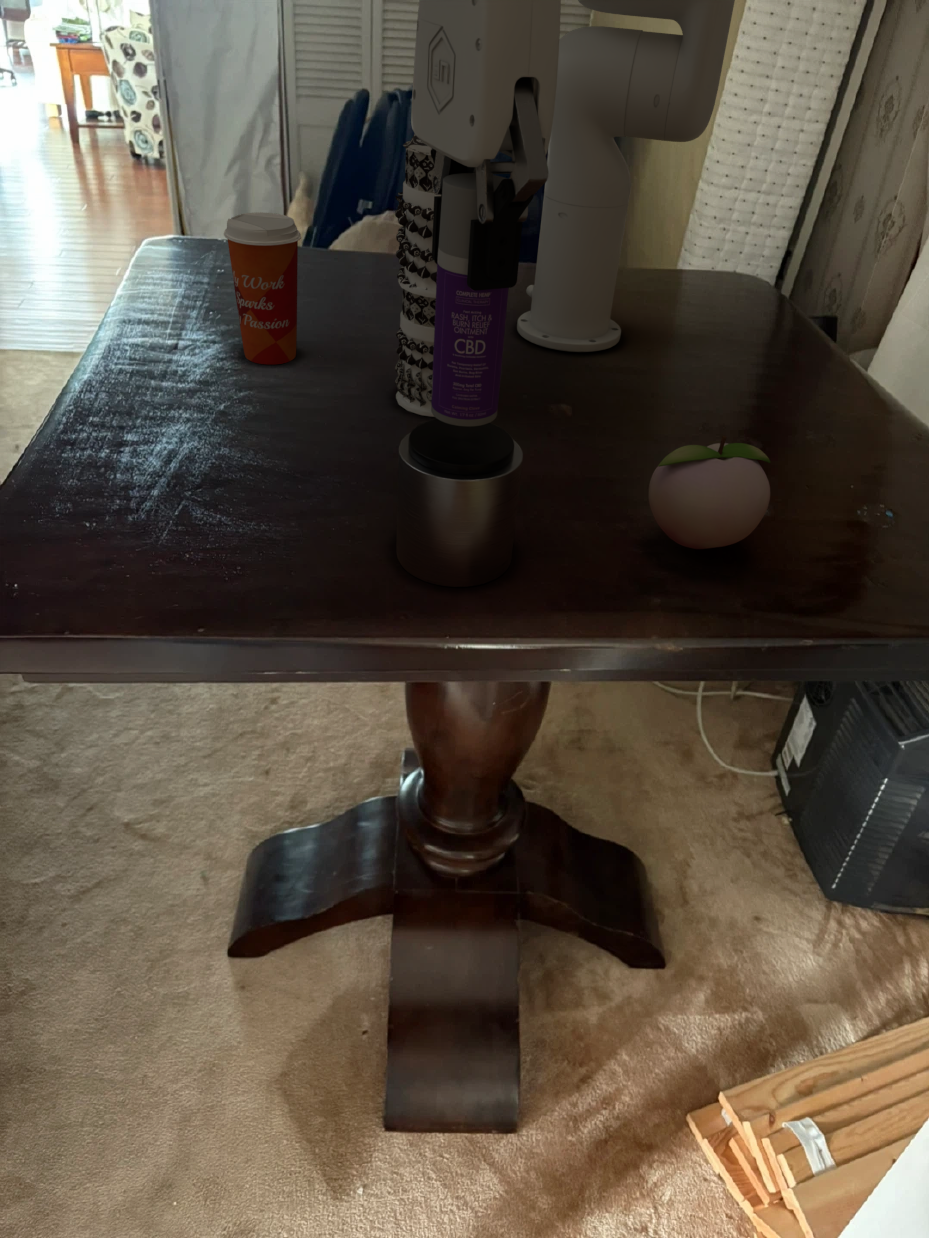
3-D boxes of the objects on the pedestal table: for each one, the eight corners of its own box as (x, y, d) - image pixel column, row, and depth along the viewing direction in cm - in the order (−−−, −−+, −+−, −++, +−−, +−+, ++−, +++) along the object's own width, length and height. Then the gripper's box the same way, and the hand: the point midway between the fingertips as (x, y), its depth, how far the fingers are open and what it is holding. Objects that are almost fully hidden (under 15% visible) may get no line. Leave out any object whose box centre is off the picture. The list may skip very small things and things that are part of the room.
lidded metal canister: (379, 535, 73) (380, 421, 67) (481, 516, 77) (490, 406, 71) (422, 597, 67) (427, 478, 61) (531, 574, 70) (546, 459, 64)
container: (449, 431, 62) (463, 192, 53) (419, 403, 65) (427, 174, 56) (509, 420, 64) (532, 189, 55) (477, 394, 67) (494, 171, 58)
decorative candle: (373, 397, 94) (374, 123, 79) (436, 374, 100) (448, 115, 85) (436, 427, 89) (451, 143, 74) (499, 402, 95) (524, 133, 80)
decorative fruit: (678, 589, 70) (707, 472, 64) (622, 534, 76) (644, 422, 70) (776, 567, 73) (813, 454, 67) (715, 516, 79) (744, 408, 73)
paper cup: (220, 359, 99) (207, 223, 91) (259, 337, 105) (249, 207, 97) (283, 374, 97) (275, 236, 89) (319, 350, 103) (315, 219, 94)
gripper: (372, -93, 52) (372, 240, 63) (504, -84, 40) (475, 325, 51) (490, -84, 55) (470, 234, 66) (647, -72, 43) (590, 314, 54)
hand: (473, 270), depth 59 cm, fingers closed on container, 4 cm apart
